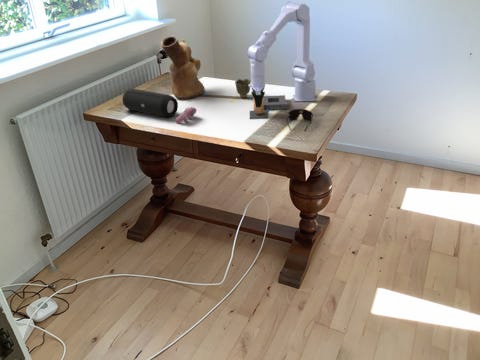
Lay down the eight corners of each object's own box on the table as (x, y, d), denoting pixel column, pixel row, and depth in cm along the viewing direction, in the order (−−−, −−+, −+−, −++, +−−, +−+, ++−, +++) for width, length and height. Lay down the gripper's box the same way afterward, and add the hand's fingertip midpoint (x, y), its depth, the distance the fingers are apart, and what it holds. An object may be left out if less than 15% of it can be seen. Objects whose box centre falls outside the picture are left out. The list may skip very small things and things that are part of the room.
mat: (267, 111, 197) (267, 109, 197) (268, 118, 190) (268, 117, 190) (249, 111, 198) (249, 110, 197) (249, 118, 191) (249, 117, 191)
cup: (251, 94, 216) (251, 78, 212) (250, 99, 210) (250, 83, 206) (236, 94, 217) (235, 78, 213) (235, 99, 211) (234, 83, 207)
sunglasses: (313, 119, 187) (313, 109, 184) (310, 135, 178) (310, 124, 175) (288, 118, 190) (288, 108, 186) (284, 133, 181) (284, 123, 178)
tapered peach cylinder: (263, 109, 195) (263, 89, 190) (264, 113, 191) (263, 93, 186) (253, 110, 195) (252, 90, 190) (254, 114, 191) (253, 94, 186)
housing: (284, 100, 207) (284, 95, 206) (286, 109, 198) (286, 104, 196) (261, 101, 208) (261, 96, 206) (261, 110, 198) (261, 105, 197)
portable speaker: (123, 112, 204) (119, 92, 199) (137, 105, 211) (133, 85, 206) (167, 121, 193) (164, 100, 188) (180, 113, 200) (177, 92, 195)
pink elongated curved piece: (181, 128, 190) (186, 115, 185) (174, 122, 191) (177, 109, 186) (195, 119, 197) (199, 107, 192) (187, 113, 198) (191, 101, 193)
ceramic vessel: (211, 91, 222) (205, 30, 206) (184, 106, 207) (176, 41, 191) (186, 86, 230) (179, 27, 214) (158, 101, 214) (149, 38, 198)
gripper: (248, 69, 191) (249, 99, 198) (248, 80, 178) (249, 111, 186) (264, 68, 190) (265, 98, 198) (265, 79, 178) (265, 111, 185)
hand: (258, 104), depth 192 cm, fingers closed on tapered peach cylinder, 4 cm apart
